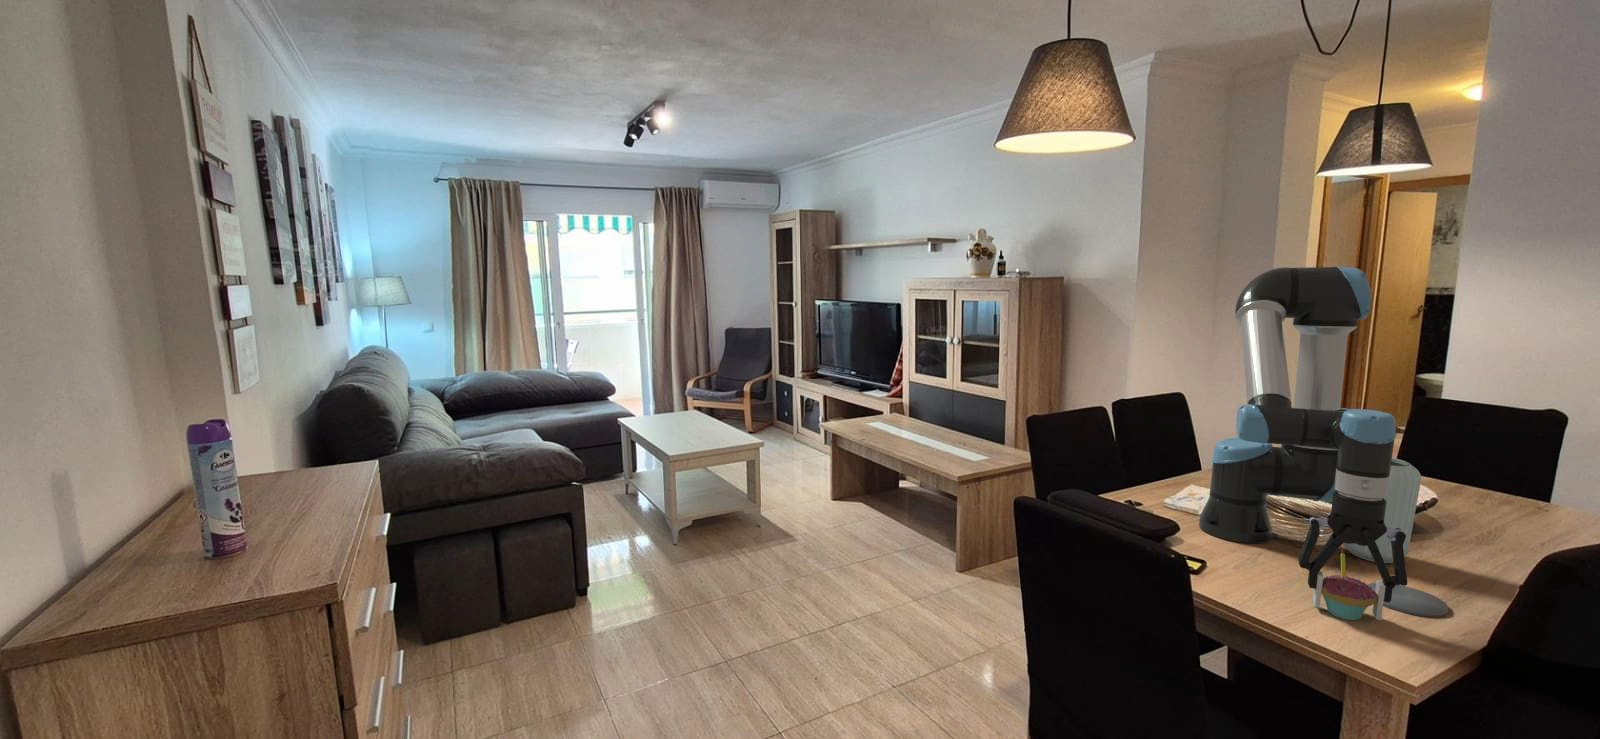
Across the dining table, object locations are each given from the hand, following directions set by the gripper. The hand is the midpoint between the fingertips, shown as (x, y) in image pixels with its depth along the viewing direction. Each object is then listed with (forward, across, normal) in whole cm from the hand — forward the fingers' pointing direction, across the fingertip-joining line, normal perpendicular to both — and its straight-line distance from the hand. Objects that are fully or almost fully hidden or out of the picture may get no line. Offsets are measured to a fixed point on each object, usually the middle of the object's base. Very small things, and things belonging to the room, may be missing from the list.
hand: (1345, 610), depth 125 cm
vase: (+1, +10, +35) cm, 36 cm away
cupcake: (+1, 0, 0) cm, 1 cm away
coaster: (+1, +11, +12) cm, 16 cm away
